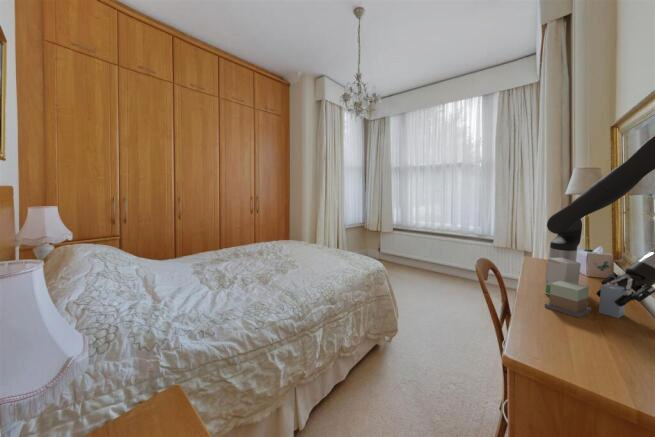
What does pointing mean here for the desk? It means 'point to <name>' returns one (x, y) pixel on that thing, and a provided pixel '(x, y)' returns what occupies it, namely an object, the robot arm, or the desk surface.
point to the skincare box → (561, 272)
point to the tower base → (569, 298)
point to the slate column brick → (611, 300)
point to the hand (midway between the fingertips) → (607, 300)
